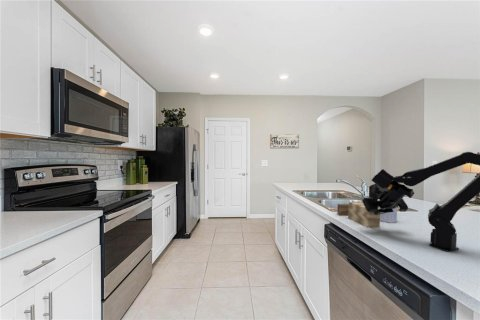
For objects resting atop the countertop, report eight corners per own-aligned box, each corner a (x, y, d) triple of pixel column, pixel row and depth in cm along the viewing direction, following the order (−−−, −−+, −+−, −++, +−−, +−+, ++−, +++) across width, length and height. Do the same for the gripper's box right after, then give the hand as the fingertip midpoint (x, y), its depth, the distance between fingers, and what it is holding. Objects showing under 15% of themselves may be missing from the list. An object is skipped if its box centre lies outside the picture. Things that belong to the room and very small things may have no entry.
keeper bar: (379, 227, 110) (380, 209, 110) (368, 227, 109) (368, 209, 109) (358, 218, 126) (358, 202, 126) (348, 218, 125) (348, 202, 125)
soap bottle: (372, 219, 124) (374, 174, 124) (383, 217, 128) (385, 173, 128) (389, 223, 116) (391, 175, 116) (400, 221, 120) (402, 175, 119)
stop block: (356, 215, 131) (357, 205, 131) (340, 215, 130) (340, 205, 130) (353, 214, 134) (353, 204, 134) (337, 214, 133) (337, 204, 133)
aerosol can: (367, 215, 133) (369, 180, 132) (367, 212, 140) (368, 179, 140) (384, 217, 129) (385, 181, 129) (383, 213, 136) (384, 180, 136)
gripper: (403, 180, 104) (384, 199, 115) (365, 179, 102) (350, 199, 113) (418, 201, 96) (396, 219, 107) (377, 201, 94) (359, 220, 105)
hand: (375, 214), depth 108 cm, fingers closed
